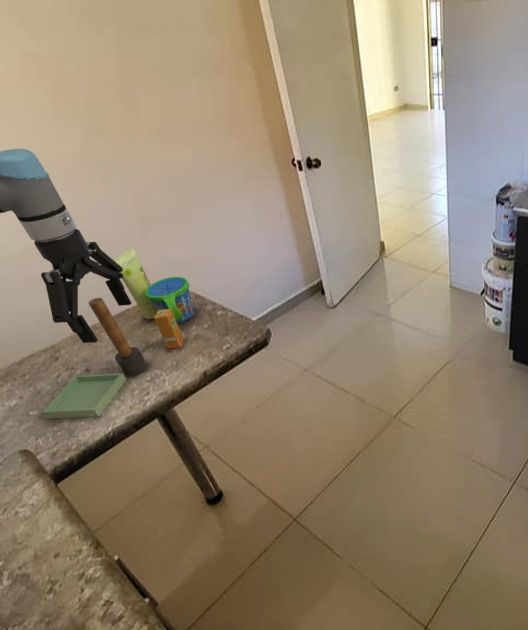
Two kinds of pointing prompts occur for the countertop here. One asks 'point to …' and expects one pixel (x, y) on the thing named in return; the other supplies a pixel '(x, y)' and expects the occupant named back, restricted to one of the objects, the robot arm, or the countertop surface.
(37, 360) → the countertop surface
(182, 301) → the snack cup
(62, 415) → the tray
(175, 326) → the supplement box
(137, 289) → the tube
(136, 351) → the brush
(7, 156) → the robot arm
